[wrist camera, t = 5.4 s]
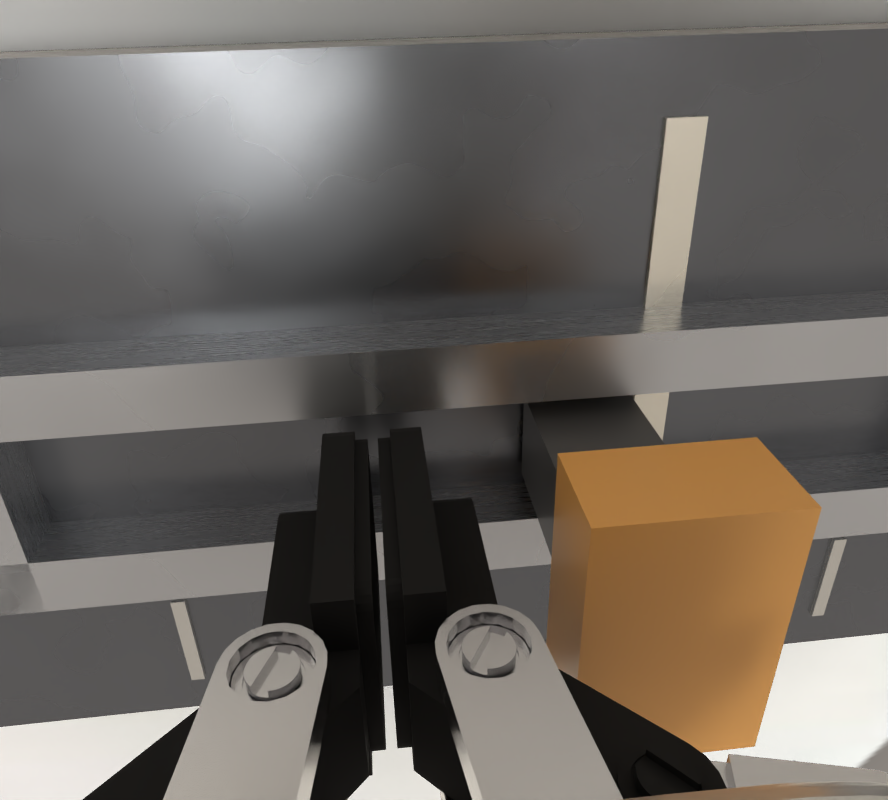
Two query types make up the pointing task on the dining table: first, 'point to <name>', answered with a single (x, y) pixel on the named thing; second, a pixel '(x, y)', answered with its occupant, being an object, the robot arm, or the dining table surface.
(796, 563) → the fader tab
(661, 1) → the dining table surface
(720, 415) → the console
